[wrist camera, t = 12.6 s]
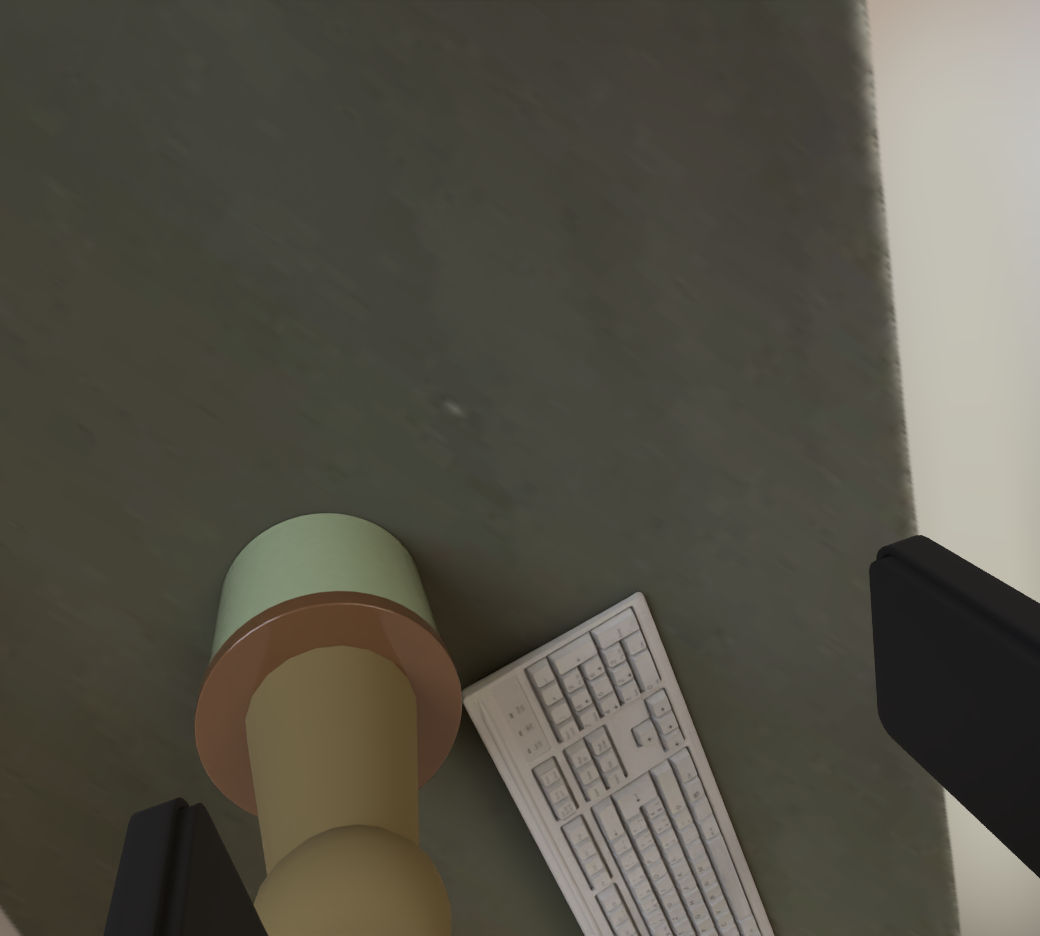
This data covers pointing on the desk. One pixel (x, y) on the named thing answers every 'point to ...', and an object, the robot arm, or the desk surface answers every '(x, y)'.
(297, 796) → the brown tapered tall piece
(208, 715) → the canister
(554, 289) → the desk surface
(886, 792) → the desk surface
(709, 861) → the keyboard
